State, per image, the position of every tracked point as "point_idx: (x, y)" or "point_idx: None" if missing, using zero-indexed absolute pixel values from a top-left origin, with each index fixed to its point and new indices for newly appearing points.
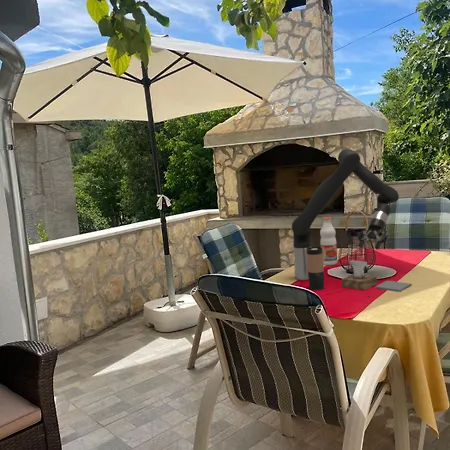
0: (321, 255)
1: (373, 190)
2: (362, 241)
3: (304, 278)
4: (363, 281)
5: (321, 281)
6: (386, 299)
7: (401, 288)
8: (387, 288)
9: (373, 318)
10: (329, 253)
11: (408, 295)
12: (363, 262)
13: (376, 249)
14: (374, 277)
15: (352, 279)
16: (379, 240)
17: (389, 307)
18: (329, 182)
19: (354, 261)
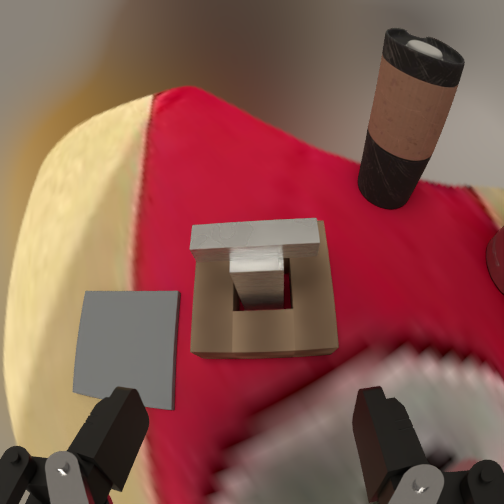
0: (384, 69)
1: None
2: (380, 457)
3: (491, 239)
4: None
5: (362, 159)
6: (111, 205)
7: (84, 312)
8: (127, 291)
9: (119, 114)
10: None
11: (64, 269)
12: (203, 225)
13: (147, 419)
14: (192, 327)
15: None
16: (57, 454)
17: (97, 165)
18: None
19: (279, 221)
